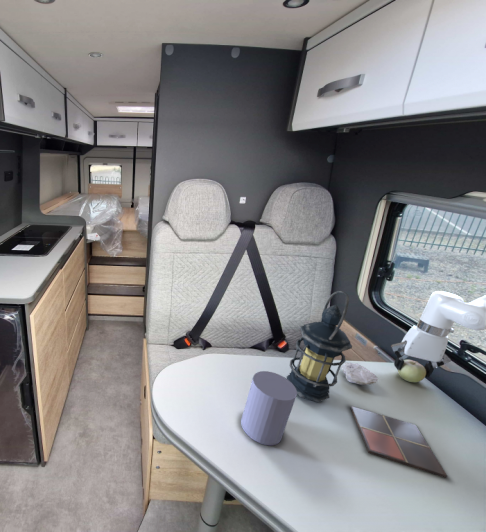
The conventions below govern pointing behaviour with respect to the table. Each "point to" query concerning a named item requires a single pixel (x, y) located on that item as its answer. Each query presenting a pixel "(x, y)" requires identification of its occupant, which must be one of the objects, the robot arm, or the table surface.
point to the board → (396, 441)
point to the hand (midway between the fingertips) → (411, 371)
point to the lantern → (320, 353)
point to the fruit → (412, 371)
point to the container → (268, 407)
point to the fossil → (358, 374)
